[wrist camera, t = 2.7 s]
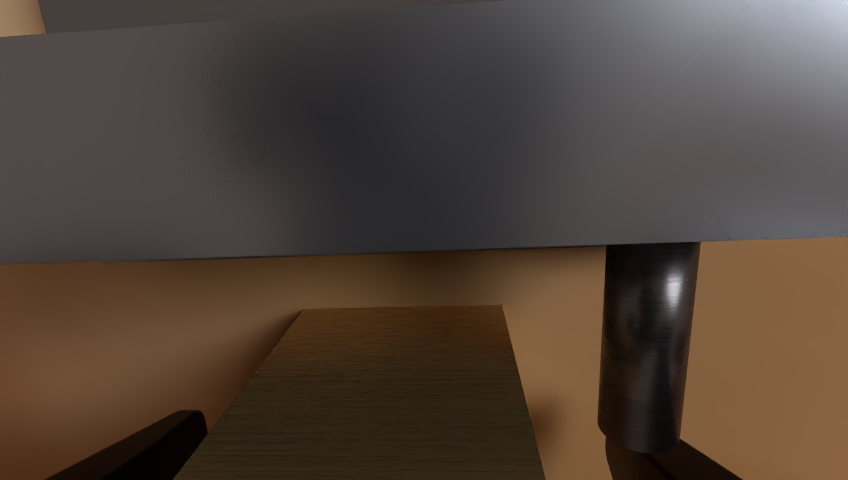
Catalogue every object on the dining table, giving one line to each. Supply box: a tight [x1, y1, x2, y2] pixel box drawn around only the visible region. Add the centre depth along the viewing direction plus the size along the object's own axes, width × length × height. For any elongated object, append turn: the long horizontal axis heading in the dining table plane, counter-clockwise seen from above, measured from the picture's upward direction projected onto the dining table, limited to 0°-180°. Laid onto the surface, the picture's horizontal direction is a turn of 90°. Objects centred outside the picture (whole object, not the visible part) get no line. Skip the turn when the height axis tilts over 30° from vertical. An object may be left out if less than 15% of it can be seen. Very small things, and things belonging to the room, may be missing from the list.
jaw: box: [0, 0, 848, 453], centre depth 6 cm, size 5×10×3 cm, turn 93°
